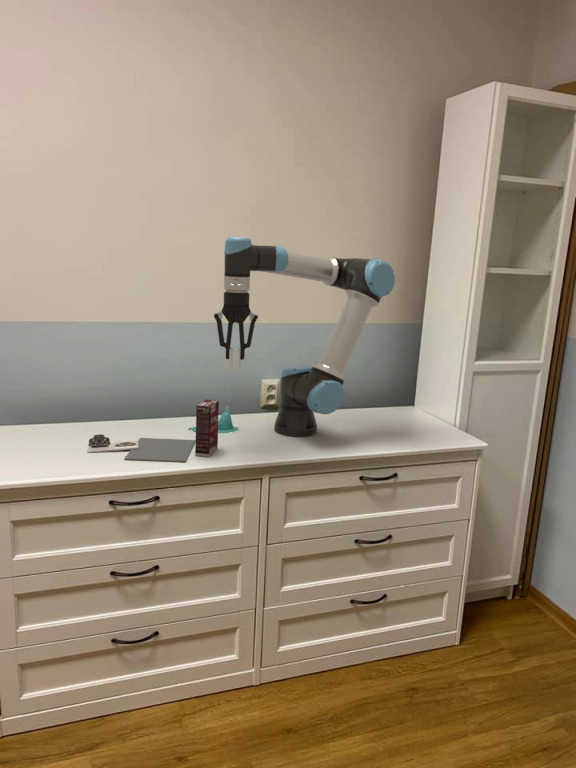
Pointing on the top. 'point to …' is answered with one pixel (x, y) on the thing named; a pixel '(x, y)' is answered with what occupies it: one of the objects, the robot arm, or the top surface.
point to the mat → (161, 450)
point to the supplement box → (206, 428)
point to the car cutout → (109, 445)
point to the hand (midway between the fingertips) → (234, 369)
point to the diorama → (224, 423)
